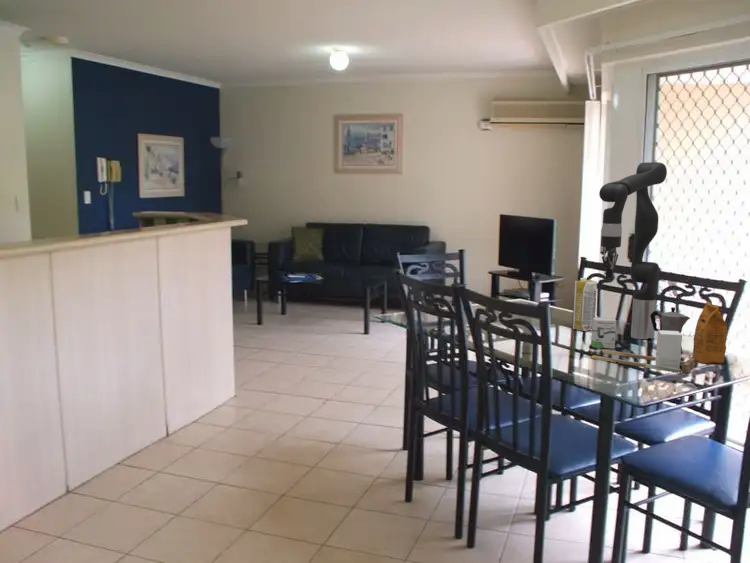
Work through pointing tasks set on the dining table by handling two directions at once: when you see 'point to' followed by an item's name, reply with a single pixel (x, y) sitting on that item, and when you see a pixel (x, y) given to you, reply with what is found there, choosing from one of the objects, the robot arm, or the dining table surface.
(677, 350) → the supplement box
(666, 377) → the dining table surface
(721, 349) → the coffee package
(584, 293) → the juice carton
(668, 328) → the coffeepot
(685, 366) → the beam slot
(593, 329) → the ink box
